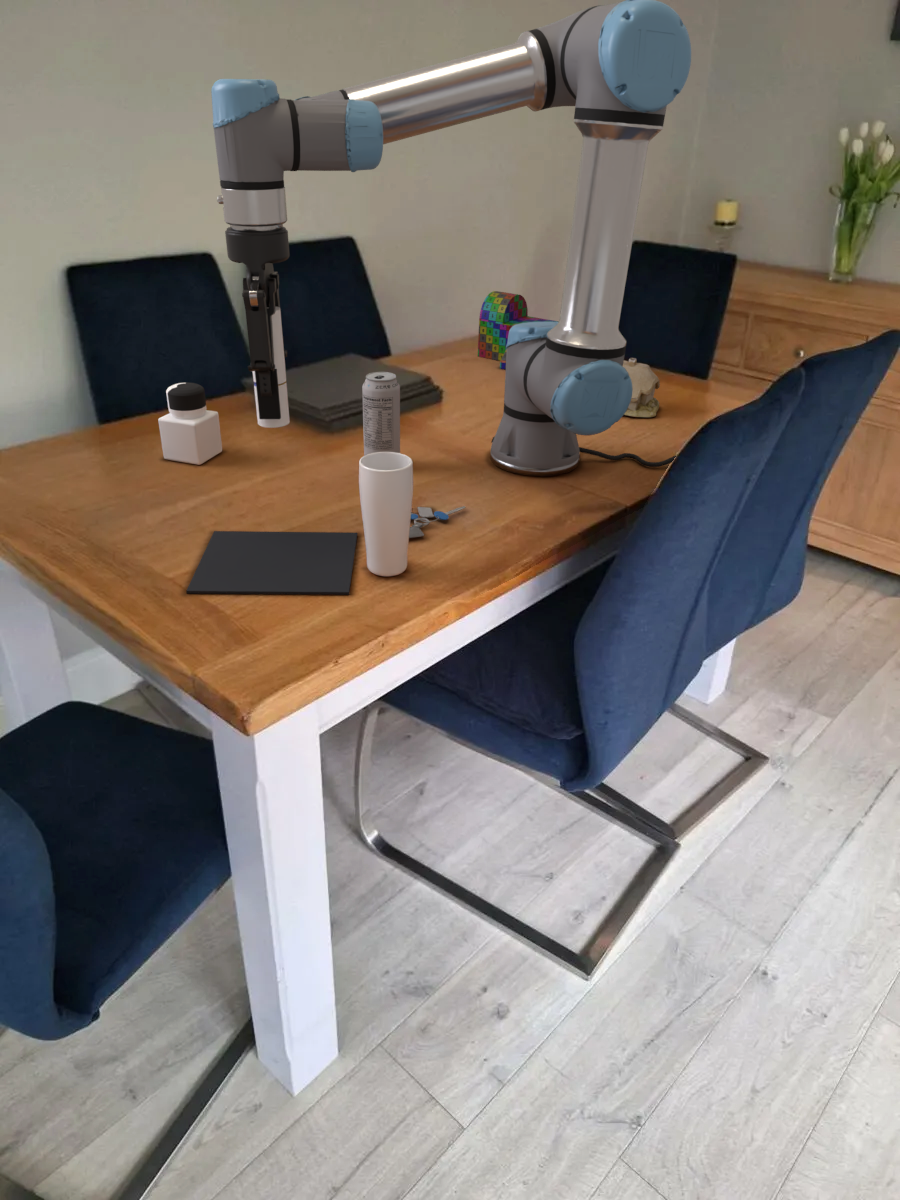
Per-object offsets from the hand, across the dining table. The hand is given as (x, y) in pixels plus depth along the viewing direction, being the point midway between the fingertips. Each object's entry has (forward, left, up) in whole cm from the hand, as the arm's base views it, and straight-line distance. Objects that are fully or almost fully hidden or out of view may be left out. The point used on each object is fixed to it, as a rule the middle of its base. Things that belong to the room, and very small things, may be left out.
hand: (273, 411), depth 118 cm
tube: (0, 0, -2) cm, 2 cm away
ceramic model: (-62, -56, -17) cm, 85 cm away
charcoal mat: (-1, +13, -16) cm, 21 cm away
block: (-46, -89, -17) cm, 101 cm away
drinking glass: (-16, +14, -17) cm, 27 cm away
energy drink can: (-14, -23, -17) cm, 31 cm away
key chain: (-20, -1, -16) cm, 26 cm away
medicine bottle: (+18, -26, -17) cm, 36 cm away
